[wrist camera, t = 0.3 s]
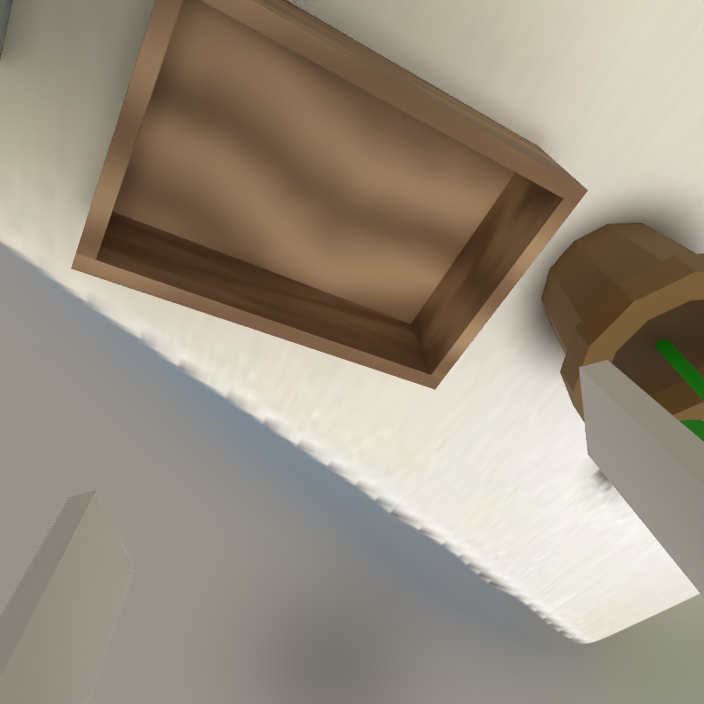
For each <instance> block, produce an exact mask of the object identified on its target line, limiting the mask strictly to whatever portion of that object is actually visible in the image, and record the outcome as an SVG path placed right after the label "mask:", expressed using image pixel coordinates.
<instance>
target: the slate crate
mask: <svg viewBox="0 0 704 704" xmlns="http://www.w3.org/2000/svg"><path fill="white" fill-rule="evenodd" d="M11 3H12V0H0V57H1V52H2V47H3V42H4V37H5V33H6V28H7V23H8V18H9V13H10V8H11Z"/></svg>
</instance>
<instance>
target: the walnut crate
mask: <svg viewBox="0 0 704 704" xmlns="http://www.w3.org/2000/svg"><path fill="white" fill-rule="evenodd" d="M587 191H588V190H587V189H586V188H585V187H583V186H582V185H581V184H580V183H579V182H578V181H577V180H576V179H574V178H573V177H572V176H571V175H570V174H569V173H568V172H567V171H565V170H564V169H563V168H562V167H561V166H560V165H559V164H558V163H556V162H555V161H554V160H553V159H552V158H551V157H550V156H549V155H547V154H546V153H545V152H544V151H543V150H542V149H541V148H540V147H538V146H536V145H535V144H533V143H531V142H529V141H528V140H526V139H524V138H523V137H521V136H519V135H517V134H516V133H514V132H512V131H510V130H509V129H507V128H505V127H504V126H502V125H500V124H498V123H497V122H495V121H493V120H491V119H490V118H488V117H486V116H485V115H483V114H481V113H479V112H478V111H476V110H474V109H473V108H471V107H469V106H467V105H466V104H464V103H462V102H460V101H459V100H457V99H455V98H454V97H452V96H450V95H448V94H447V93H445V92H443V91H441V90H440V89H438V88H436V87H435V86H433V85H431V84H429V83H428V82H426V81H424V80H423V79H421V78H419V77H417V76H416V75H414V74H412V73H410V72H409V71H407V70H405V69H404V68H402V67H400V66H398V65H397V64H395V63H393V62H391V61H390V60H388V59H386V58H385V57H383V56H381V55H379V54H378V53H376V52H374V51H373V50H371V49H369V48H367V47H366V46H364V45H362V44H360V43H359V42H357V41H355V40H354V39H352V38H350V37H348V36H347V35H345V34H343V33H341V32H340V31H338V30H336V29H335V28H333V27H331V26H329V25H328V24H326V23H324V22H323V21H321V20H319V19H317V18H316V17H314V16H312V15H310V14H309V13H307V12H305V11H304V10H302V9H300V8H298V7H297V6H295V5H293V4H291V3H290V2H288V1H286V0H156V1H155V5H154V8H153V11H152V14H151V17H150V21H149V24H148V27H147V30H146V33H145V36H144V40H143V43H142V46H141V49H140V52H139V55H138V59H137V62H136V65H135V68H134V71H133V74H132V78H131V81H130V84H129V87H128V90H127V93H126V97H125V100H124V103H123V106H122V109H121V112H120V116H119V119H118V122H117V125H116V128H115V131H114V135H113V138H112V141H111V144H110V147H109V150H108V154H107V157H106V160H105V163H104V166H103V169H102V173H101V176H100V179H99V182H98V185H97V188H96V192H95V195H94V198H93V201H92V204H91V207H90V211H89V214H88V217H87V220H86V223H85V226H84V230H83V233H82V236H81V239H80V242H79V245H78V249H77V252H76V255H75V258H74V261H73V264H72V268H71V269H74V270H77V271H80V272H83V273H86V274H89V275H92V276H95V277H98V278H101V279H104V280H107V281H110V282H113V283H116V284H119V285H122V286H125V287H128V288H131V289H134V290H137V291H140V292H143V293H146V294H149V295H152V296H155V297H158V298H161V299H164V300H167V301H170V302H174V303H177V304H180V305H183V306H186V307H189V308H192V309H195V310H198V311H201V312H204V313H207V314H210V315H213V316H216V317H219V318H222V319H225V320H228V321H231V322H234V323H237V324H240V325H243V326H246V327H249V328H252V329H255V330H258V331H261V332H264V333H267V334H270V335H273V336H276V337H279V338H282V339H285V340H288V341H291V342H294V343H297V344H300V345H303V346H306V347H309V348H312V349H315V350H318V351H321V352H324V353H327V354H330V355H333V356H336V357H339V358H342V359H345V360H348V361H351V362H354V363H357V364H360V365H363V366H366V367H369V368H372V369H375V370H378V371H381V372H384V373H387V374H390V375H393V376H396V377H399V378H402V379H405V380H408V381H411V382H414V383H417V384H420V385H423V386H426V387H429V388H432V389H436V388H437V386H438V385H439V384H440V382H441V381H442V380H443V378H444V377H445V376H446V375H447V373H448V372H449V371H450V369H451V368H452V367H453V365H454V364H455V363H456V362H457V360H458V359H459V358H460V356H461V355H462V354H463V352H464V351H465V350H466V348H467V347H468V346H469V345H470V343H471V342H472V341H473V339H474V338H475V337H476V335H477V334H478V333H479V332H480V330H481V329H482V328H483V326H484V325H485V324H486V322H487V321H488V320H489V319H490V317H491V316H492V315H493V313H494V312H495V311H496V309H497V308H498V307H499V306H500V304H501V303H502V302H503V300H504V299H505V298H506V296H507V295H508V294H509V293H510V291H511V290H512V289H513V287H514V286H515V285H516V283H517V282H518V281H519V279H520V278H521V277H522V276H523V274H524V273H525V272H526V270H527V269H528V268H529V266H530V265H531V264H532V263H533V261H534V260H535V259H536V257H537V256H538V255H539V253H540V252H541V251H542V250H543V248H544V247H545V246H546V244H547V243H548V242H549V240H550V239H551V238H552V237H553V235H554V234H555V233H556V231H557V230H558V229H559V227H560V226H561V225H562V223H563V222H564V221H565V220H566V218H567V217H568V216H569V214H570V213H571V212H572V210H573V209H574V208H575V207H576V205H577V204H578V203H579V201H580V200H581V199H582V197H583V196H584V195H585V194H586V192H587Z"/></svg>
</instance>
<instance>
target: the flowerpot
mask: <svg viewBox="0 0 704 704" xmlns="http://www.w3.org/2000/svg"><path fill="white" fill-rule="evenodd" d="M542 301H543V304H544V307H545V309H546V312H547V315H548V317H549V320H550V322H551V325H552V327H553V329H554V331H555V333H556V335H557V337H558V340H559V342H560V344H561V346H562V348H563V350H564V352H565V354H566V356H565V359H564V362H563V365H562V368H561V371H560V373H561V375H562V378H563V381H564V383H565V386H566V388H567V391H568V393H569V396H570V398H571V401H572V404H573V406H574V407H575V409H576V410H577V412H578V413H579V415H580V416H581V418H582V420H583V421H584V411H583V401H582V392H581V382H580V372H579V367H582V366H586V365H590V364H594V363H598V362H602V361H606V360H608V361H609V362H611V363H612V364H613V365H614V366H615V367H616V368H618V369H619V370H620V371H621V372H622V373H624V374H625V375H626V376H627V377H628V378H629V379H631V380H632V381H633V382H634V383H635V384H636V385H638V386H639V387H640V388H641V389H642V390H643V391H645V392H646V393H647V394H648V395H649V396H650V397H652V398H653V399H654V400H655V401H656V402H658V403H659V404H660V405H661V406H662V407H663V408H665V409H666V410H667V411H668V412H669V413H670V414H672V415H673V416H674V417H675V418H676V419H677V420H679V421H680V422H681V423H682V424H683V425H684V426H686V427H687V428H688V429H689V430H690V431H692V432H693V433H694V434H695V435H696V436H697V437H699V438H700V439H701V440H702V441H703V442H704V421H702V420H704V254H696V253H694V252H692V251H690V250H688V249H687V248H685V247H683V246H681V245H680V244H678V243H676V242H674V241H672V240H671V239H669V238H667V237H665V236H664V235H662V234H660V233H658V232H656V231H655V230H653V229H651V228H649V227H648V226H646V225H644V224H642V223H627V224H607V225H605V226H604V227H602V228H600V229H598V230H596V231H594V232H592V233H590V234H588V235H586V236H584V237H582V238H580V239H578V240H576V241H574V242H573V243H572V244H571V246H570V247H569V248H568V249H567V250H566V251H565V252H564V254H563V255H562V256H561V257H560V258H559V259H558V260H557V262H556V263H555V264H554V265H553V266H552V267H551V268H550V270H549V274H548V277H547V281H546V284H545V288H544V292H543V295H542ZM584 423H585V421H584Z"/></svg>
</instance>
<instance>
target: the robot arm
mask: <svg viewBox="0 0 704 704" xmlns="http://www.w3.org/2000/svg"><path fill="white" fill-rule="evenodd" d="M579 372H580V382H581V392H582V401H583V411H584V421H585V431H586V440H587V450H588V455H589V456H590V457H591V459H592V460H593V461H594V462H595V464H596V465H597V466H598V467H599V468H600V470H601V471H602V472H603V473H604V475H605V476H606V477H607V478H608V480H609V481H610V482H611V483H612V485H613V486H614V487H615V488H616V490H617V491H618V492H619V493H620V494H621V496H622V497H623V498H624V499H625V501H626V502H627V503H628V504H629V506H630V507H631V508H632V509H633V511H634V512H635V513H636V514H637V515H638V517H639V518H640V519H641V520H642V522H643V523H644V524H645V525H646V527H647V528H648V529H649V530H650V532H651V533H652V534H653V535H654V537H655V538H656V539H657V540H658V541H659V543H660V544H661V545H662V546H663V548H664V549H665V550H666V551H667V553H668V554H669V555H670V556H671V558H672V559H673V560H674V561H675V562H676V564H677V565H678V566H679V567H680V569H681V570H682V571H683V572H684V574H685V575H686V576H687V577H688V579H689V580H690V581H691V582H692V583H693V585H694V586H695V587H696V588H697V590H698V591H699V592H700V593H701V595H702V596H703V597H704V442H703V441H702V440H701V439H700V438H699V437H697V436H696V435H695V434H694V433H693V432H692V431H690V430H689V429H688V428H687V427H686V426H684V425H683V424H682V423H681V422H680V421H679V420H677V419H676V418H675V417H674V416H673V415H672V414H670V413H669V412H668V411H667V410H666V409H665V408H663V407H662V406H661V405H660V404H659V403H658V402H656V401H655V400H654V399H653V398H652V397H650V396H649V395H648V394H647V393H646V392H645V391H643V390H642V389H641V388H640V387H639V386H638V385H636V384H635V383H634V382H633V381H632V380H631V379H629V378H628V377H627V376H626V375H625V374H624V373H622V372H621V371H620V370H619V369H618V368H616V367H615V366H614V365H613V364H612V363H611V362H609V361H608V360H606V361H602V362H598V363H594V364H590V365H586V366H582V367H579ZM134 571H135V567H134V564H133V562H132V561H131V558H130V557H129V554H128V552H127V550H126V548H125V546H124V545H123V542H122V540H121V539H120V537H119V535H118V533H117V531H116V529H115V527H114V525H113V523H112V521H111V519H110V517H109V515H108V513H107V511H106V509H105V507H104V505H103V503H102V501H101V499H100V497H99V495H98V493H97V491H92V492H88V493H84V494H80V495H76V496H72V497H69V498H68V500H67V501H66V503H65V505H64V506H63V508H62V510H61V512H60V513H59V515H58V517H57V518H56V520H55V522H54V524H53V526H52V528H51V529H50V531H49V533H48V534H47V536H46V538H45V539H44V541H43V543H42V545H41V546H40V548H39V550H38V552H37V553H36V555H35V557H34V559H33V560H32V562H31V564H30V566H29V567H28V569H27V571H26V572H25V574H24V576H23V578H22V579H21V581H20V583H19V585H18V586H17V588H16V590H15V592H14V593H13V595H12V597H11V599H10V600H9V602H8V604H7V605H6V608H5V609H4V611H3V612H2V614H1V616H0V704H88V703H89V700H90V698H91V695H92V692H93V689H94V686H95V683H96V680H97V678H98V675H99V672H100V669H101V666H102V663H103V660H104V657H105V655H106V652H107V649H108V646H109V643H110V640H111V637H112V634H113V631H114V628H115V626H116V623H117V620H118V617H119V614H120V611H121V608H122V605H123V603H124V600H125V597H126V594H127V591H128V588H129V585H130V582H131V580H132V577H133V574H134Z"/></svg>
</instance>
